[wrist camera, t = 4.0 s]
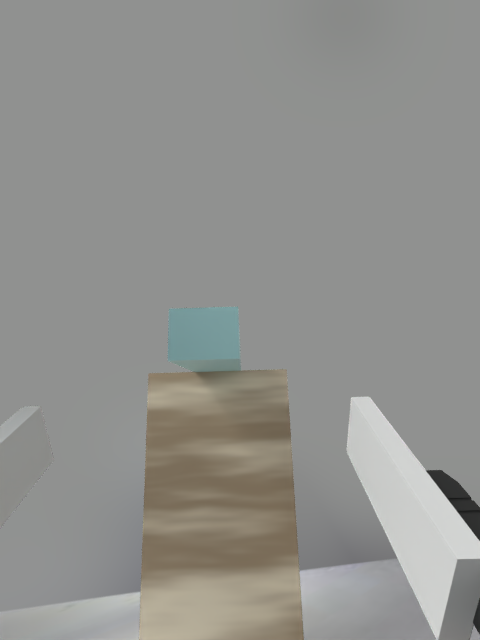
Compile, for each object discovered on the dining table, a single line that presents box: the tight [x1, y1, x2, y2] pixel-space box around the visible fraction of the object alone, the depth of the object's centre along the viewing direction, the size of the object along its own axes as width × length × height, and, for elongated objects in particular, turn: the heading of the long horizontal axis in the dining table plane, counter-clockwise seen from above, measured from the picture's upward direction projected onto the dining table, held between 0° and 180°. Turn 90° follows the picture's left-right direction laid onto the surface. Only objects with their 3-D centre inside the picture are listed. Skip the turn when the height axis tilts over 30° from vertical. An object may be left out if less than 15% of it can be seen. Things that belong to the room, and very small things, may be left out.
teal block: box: [168, 307, 241, 372], centre depth 30 cm, size 26×4×3 cm, turn 0°
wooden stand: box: [139, 369, 304, 640], centre depth 29 cm, size 12×12×30 cm
